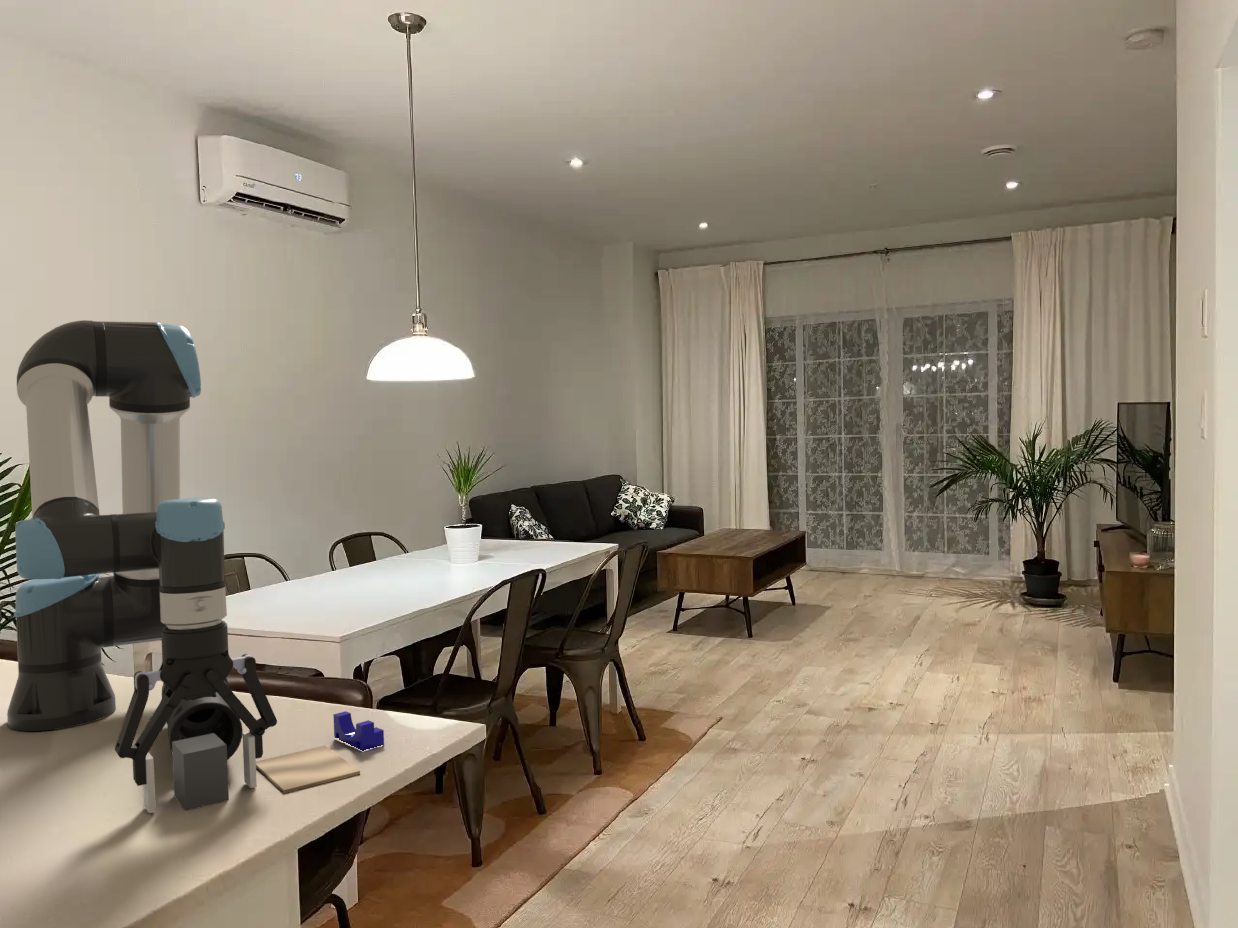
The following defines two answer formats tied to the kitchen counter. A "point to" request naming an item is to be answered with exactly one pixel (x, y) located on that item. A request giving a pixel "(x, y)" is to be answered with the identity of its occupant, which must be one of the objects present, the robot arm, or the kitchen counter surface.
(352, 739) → the cable holder
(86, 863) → the kitchen counter surface
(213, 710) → the muzzle brake
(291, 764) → the mat
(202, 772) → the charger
